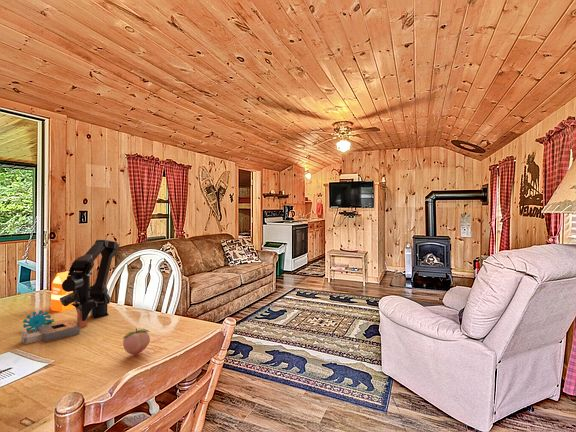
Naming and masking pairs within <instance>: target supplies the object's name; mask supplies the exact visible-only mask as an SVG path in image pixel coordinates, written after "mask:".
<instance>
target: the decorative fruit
mask: <svg viewBox="0 0 576 432" xmlns="http://www.w3.org/2000/svg"><path fill="white" fill-rule="evenodd" d="M149 332H150V330H148V329H146V328H141V329H138V328H135V330H133V331H132V330H131V331H130V332H127V333H126V334H125V335H124V336H122V337H123V338H122V339H123V341H122V345H123V348H124V350H125V352H126V353H127V354H130V355H134V356H136V355H139V354H140V353H142V352H143V351H144V350H146V348H147V347H148V345H149V344H150V340H151V338H150V337H151V336H150V335H149Z"/></svg>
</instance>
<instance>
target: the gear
mask: <svg viewBox="0 0 576 432" xmlns="http://www.w3.org/2000/svg"><path fill="white" fill-rule="evenodd" d="M43 312H44V313H43ZM51 317H52V316H51V314H49V313H48V311H43V310H39V311H38V313H37V311H33V312H32V317H31V314H27V315H26V318H25V319H23V321H22V323H24V324H23V325H22V327H23V329H25V330H26V331H27V332H30V331H31V333H36V332H37V327H38V326H43V325H47V324H52V323H55V318H52V319H51ZM27 319H28V320H27ZM26 323H27V324H26Z"/></svg>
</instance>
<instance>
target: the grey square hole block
mask: <svg viewBox="0 0 576 432" xmlns="http://www.w3.org/2000/svg"><path fill="white" fill-rule="evenodd" d="M36 332H41V333H42V334H43V340H42V341H43V342H44V343H49V342H53V341H57V340H62V339H65V338H68V337H73V336H77V335H80V328H79V325H77V323H76V322H74V321H73V320H72V319H66V320H61V321H57V322H52V324H47V325H42V326H38V327H37V329H36Z"/></svg>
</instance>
